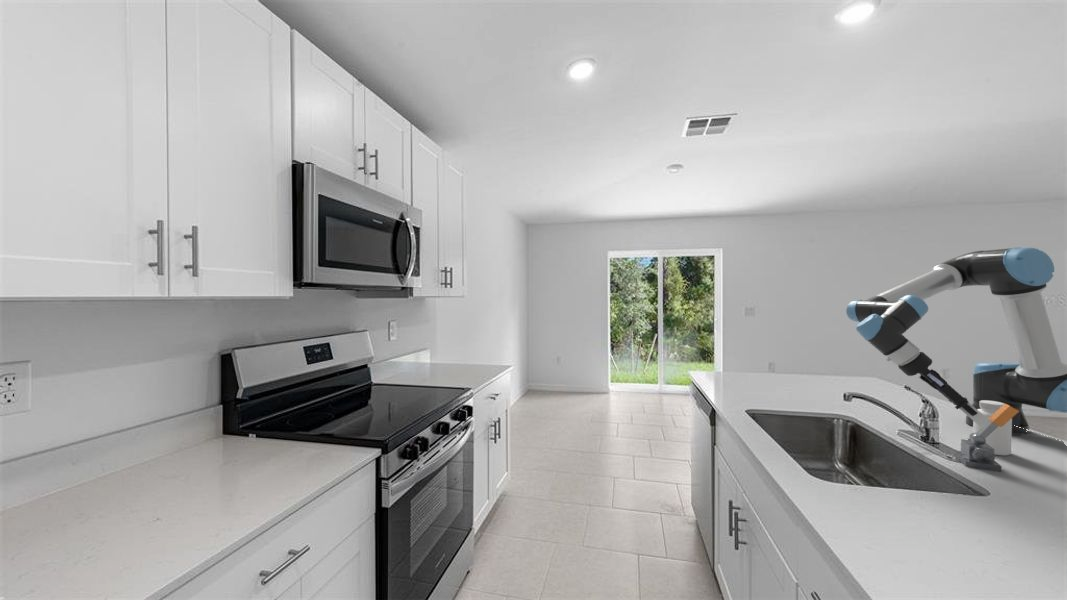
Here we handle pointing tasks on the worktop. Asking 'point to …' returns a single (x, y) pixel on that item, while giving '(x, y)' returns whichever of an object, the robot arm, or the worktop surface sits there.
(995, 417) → the valve lever
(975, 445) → the valve body
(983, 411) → the pill bottle
